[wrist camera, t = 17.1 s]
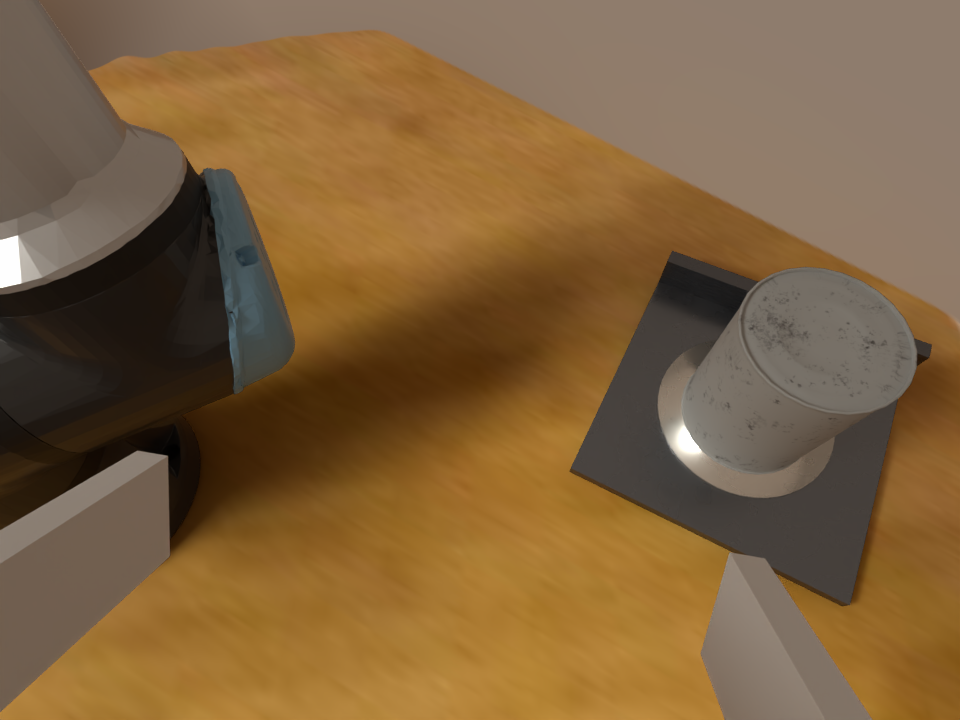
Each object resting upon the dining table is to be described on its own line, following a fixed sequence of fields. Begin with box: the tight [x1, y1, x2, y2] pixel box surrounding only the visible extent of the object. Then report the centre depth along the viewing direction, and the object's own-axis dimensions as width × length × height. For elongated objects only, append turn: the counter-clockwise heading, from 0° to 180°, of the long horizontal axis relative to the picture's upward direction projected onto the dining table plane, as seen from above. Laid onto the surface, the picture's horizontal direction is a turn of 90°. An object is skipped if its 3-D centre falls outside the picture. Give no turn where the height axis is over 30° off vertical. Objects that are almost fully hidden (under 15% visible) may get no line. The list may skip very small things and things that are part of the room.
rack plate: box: [570, 251, 932, 606], centre depth 42 cm, size 20×20×4 cm
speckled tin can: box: [681, 267, 917, 475], centre depth 37 cm, size 10×10×12 cm
